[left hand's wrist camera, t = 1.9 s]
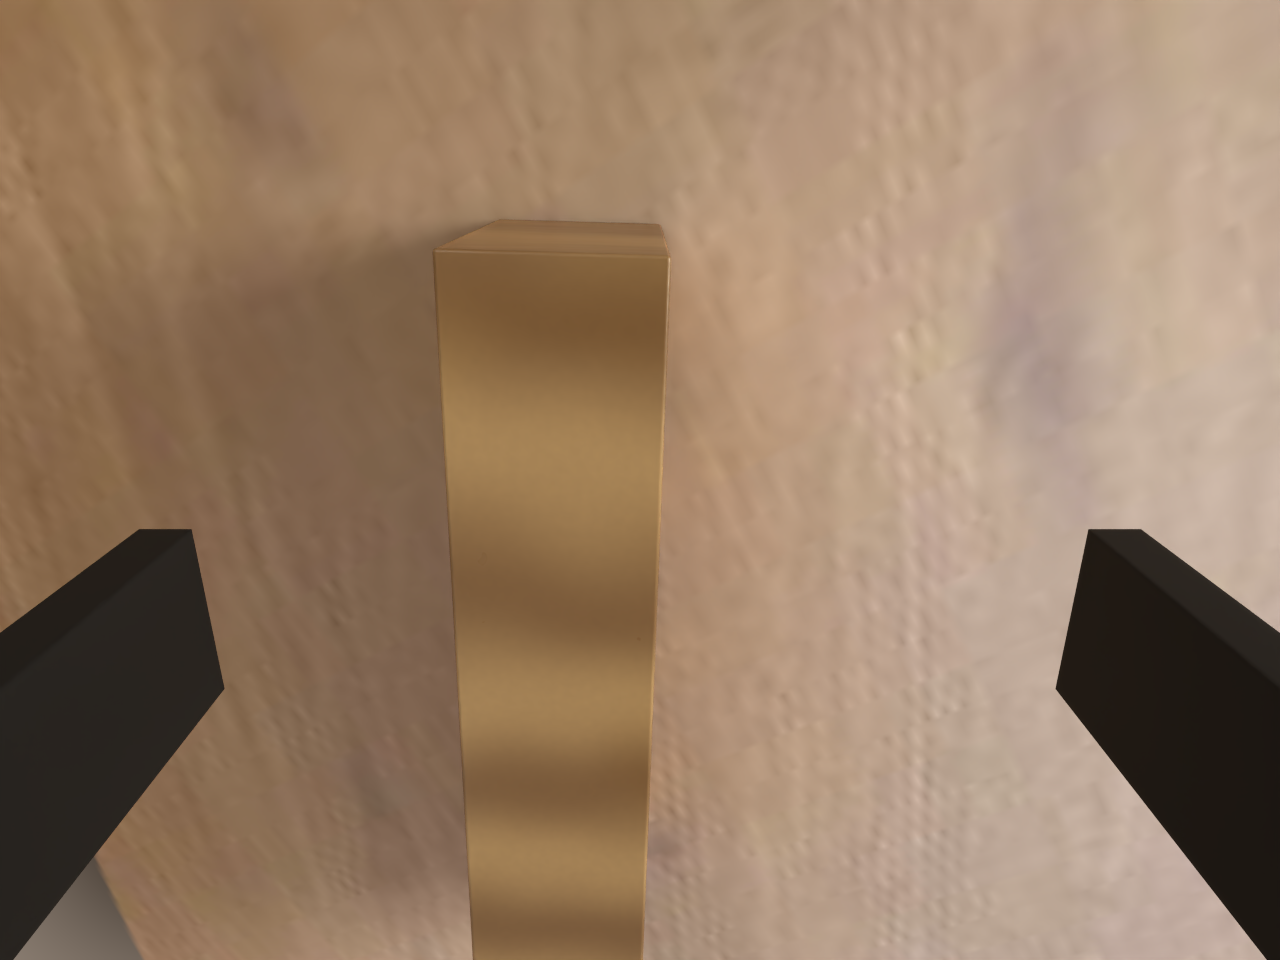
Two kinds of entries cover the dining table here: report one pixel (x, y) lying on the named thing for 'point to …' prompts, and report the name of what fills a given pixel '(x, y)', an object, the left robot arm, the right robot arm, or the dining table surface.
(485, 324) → the bar
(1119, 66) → the dining table surface
